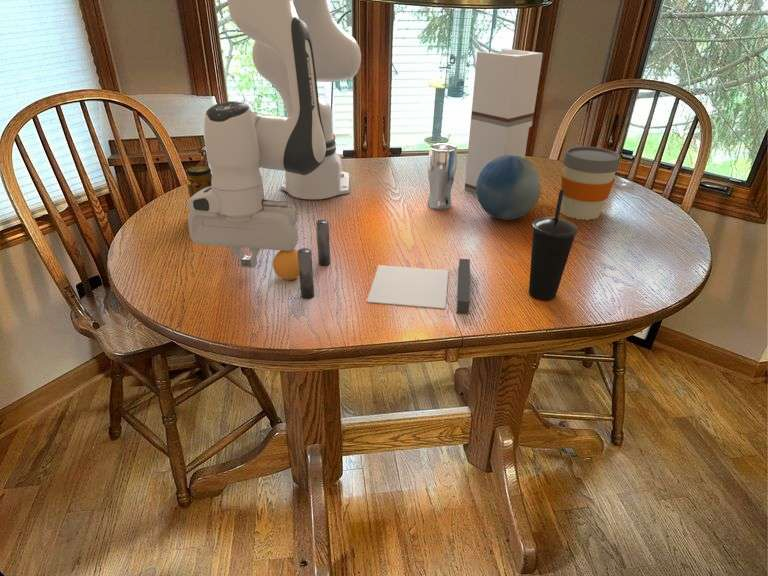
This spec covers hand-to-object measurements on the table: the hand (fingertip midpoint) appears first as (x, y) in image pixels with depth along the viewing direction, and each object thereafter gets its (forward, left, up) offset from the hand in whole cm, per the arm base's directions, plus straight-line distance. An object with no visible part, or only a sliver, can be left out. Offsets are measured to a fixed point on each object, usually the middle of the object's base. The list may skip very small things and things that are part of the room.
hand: (248, 265), depth 102 cm
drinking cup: (-1, +56, -2) cm, 56 cm away
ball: (0, +8, +1) cm, 9 cm away
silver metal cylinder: (-42, +35, -2) cm, 55 cm away
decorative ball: (-37, +51, -2) cm, 63 cm away
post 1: (+6, +13, -2) cm, 15 cm away
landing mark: (0, +31, -2) cm, 31 cm away
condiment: (-25, -19, -2) cm, 32 cm away
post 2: (-7, +13, -2) cm, 15 cm away
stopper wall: (0, +41, -2) cm, 41 cm away
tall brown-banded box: (-55, +49, -2) cm, 74 cm away
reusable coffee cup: (-43, +70, -2) cm, 82 cm away
